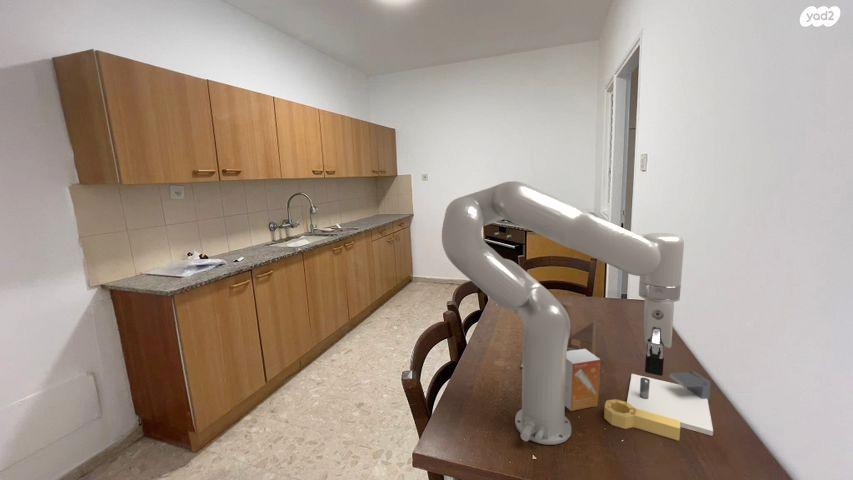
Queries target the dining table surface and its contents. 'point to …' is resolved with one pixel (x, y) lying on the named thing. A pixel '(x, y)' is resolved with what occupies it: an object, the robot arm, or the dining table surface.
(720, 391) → the dining table surface
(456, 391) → the dining table surface
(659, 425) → the link
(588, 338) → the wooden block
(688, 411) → the board
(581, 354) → the small box
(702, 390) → the block
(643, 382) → the pin
